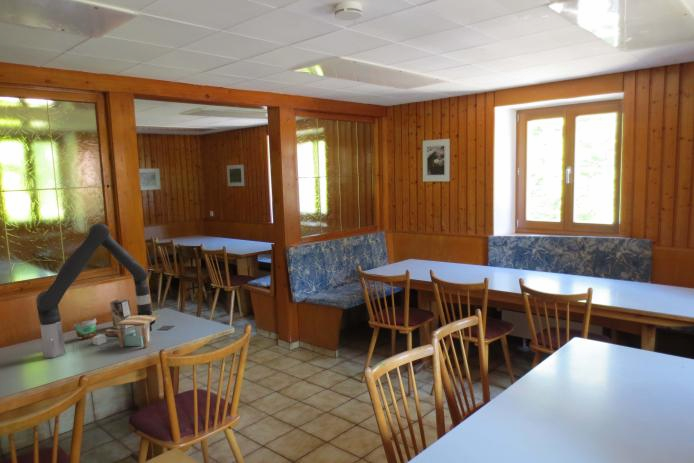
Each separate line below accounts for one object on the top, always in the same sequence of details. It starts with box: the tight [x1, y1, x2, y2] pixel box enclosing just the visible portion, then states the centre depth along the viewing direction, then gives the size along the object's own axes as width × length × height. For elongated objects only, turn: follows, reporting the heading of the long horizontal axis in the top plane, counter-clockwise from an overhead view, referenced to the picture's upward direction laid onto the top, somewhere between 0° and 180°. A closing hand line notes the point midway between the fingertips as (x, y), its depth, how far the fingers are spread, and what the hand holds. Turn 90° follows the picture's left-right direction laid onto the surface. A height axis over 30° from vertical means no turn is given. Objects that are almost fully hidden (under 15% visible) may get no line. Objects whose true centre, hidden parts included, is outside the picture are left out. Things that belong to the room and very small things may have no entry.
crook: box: [123, 329, 151, 347], centre depth 271 cm, size 22×12×5 cm, turn 168°
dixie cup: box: [132, 323, 150, 343], centre depth 266 cm, size 8×8×10 cm
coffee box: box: [109, 299, 133, 330], centre depth 296 cm, size 9×6×16 cm
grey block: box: [91, 334, 107, 346], centre depth 269 cm, size 5×4×4 cm
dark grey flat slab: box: [156, 325, 175, 331], centre depth 288 cm, size 7×7×1 cm
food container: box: [73, 317, 98, 341], centre depth 279 cm, size 12×6×10 cm, turn 143°
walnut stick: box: [104, 328, 126, 337], centre depth 282 cm, size 12×2×3 cm, turn 71°
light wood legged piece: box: [116, 314, 161, 349], centre depth 264 cm, size 14×16×13 cm
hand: (147, 331), depth 281 cm, fingers closed on crook, 3 cm apart
